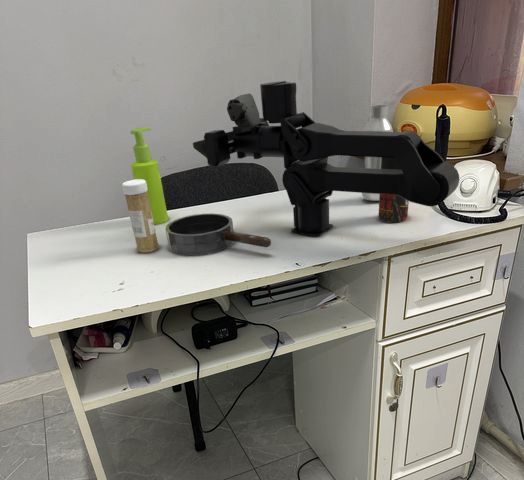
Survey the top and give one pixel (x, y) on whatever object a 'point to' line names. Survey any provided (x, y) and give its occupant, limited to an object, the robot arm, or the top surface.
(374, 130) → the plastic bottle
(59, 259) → the top surface
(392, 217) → the deodorant
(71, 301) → the top surface
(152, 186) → the soap dispenser
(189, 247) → the pan
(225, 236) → the pan handle
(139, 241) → the sprinkles bottle
